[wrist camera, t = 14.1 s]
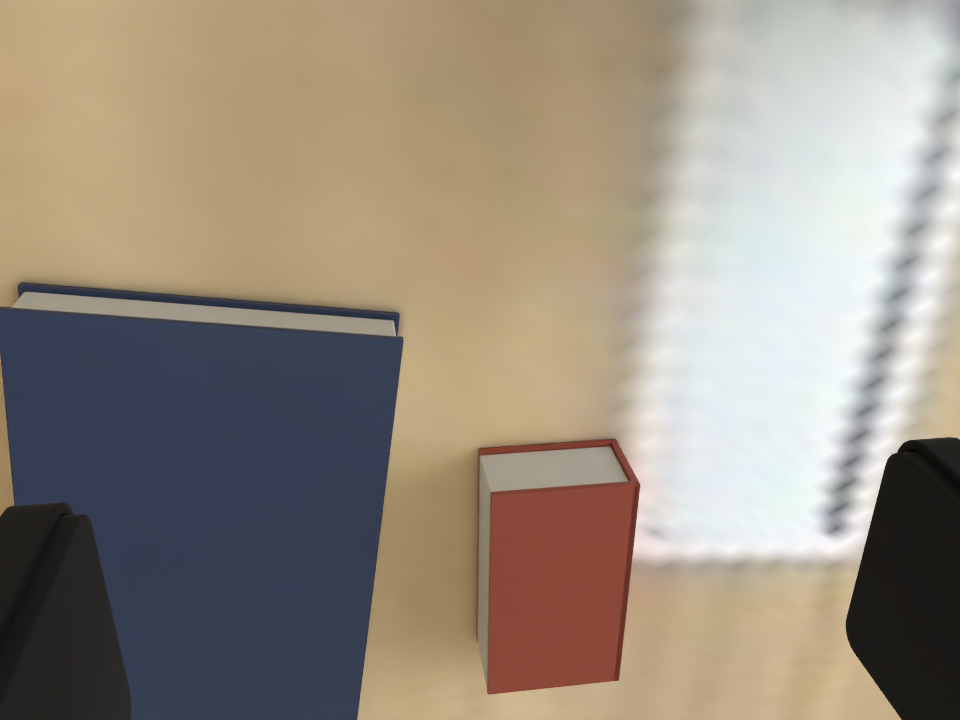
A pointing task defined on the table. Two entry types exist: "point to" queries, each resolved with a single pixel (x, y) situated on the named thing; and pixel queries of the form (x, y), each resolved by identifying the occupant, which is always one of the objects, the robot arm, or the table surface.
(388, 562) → the table surface
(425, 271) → the table surface
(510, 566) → the pocket book
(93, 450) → the hardcover book
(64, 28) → the table surface
